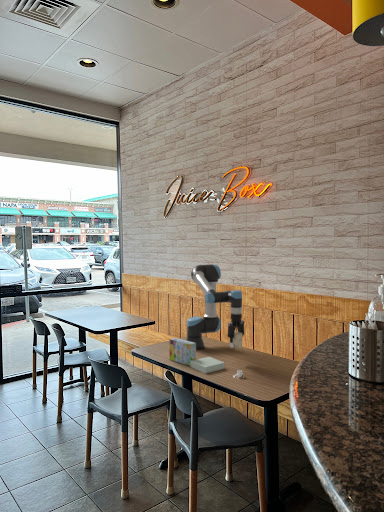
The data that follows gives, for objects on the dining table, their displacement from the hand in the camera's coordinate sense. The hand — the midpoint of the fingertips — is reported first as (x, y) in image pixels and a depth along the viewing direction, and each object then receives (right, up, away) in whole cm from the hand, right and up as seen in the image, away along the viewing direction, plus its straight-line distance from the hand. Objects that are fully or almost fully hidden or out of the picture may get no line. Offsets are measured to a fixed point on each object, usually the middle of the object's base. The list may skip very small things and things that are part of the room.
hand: (235, 346), depth 271 cm
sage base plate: (-20, -12, -10) cm, 25 cm away
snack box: (-37, -12, +2) cm, 39 cm away
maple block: (0, -1, 0) cm, 0 cm away
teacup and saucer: (+2, -13, -26) cm, 29 cm away
